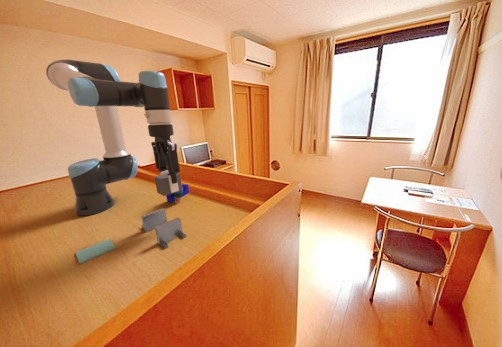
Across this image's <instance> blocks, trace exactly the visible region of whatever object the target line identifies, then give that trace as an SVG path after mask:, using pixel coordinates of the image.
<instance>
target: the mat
mask: <svg viewBox="0 0 502 347" xmlns="http://www.w3.org/2000/svg"><path fill="white" fill-rule="evenodd" d="M113 250H116V246H115V245H114V243H113V242H112V240H111V239H110V238H108V239H106V240H103V241H101V242H99V243H95V244H93V245H91V246H89V247H85V248H83V249H80V250H78V251H75V254H76V255H75V256H76V258H77V261H78V264H79V265H82V264H83V263H87V262H88V261H90V260H92V259H93V260H94V259H95V258H97V257H100V256H102V255H105V254H106V253H109V252H111V251H113Z"/></svg>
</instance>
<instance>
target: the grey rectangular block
mask: <svg viewBox="0 0 502 347" xmlns="http://www.w3.org/2000/svg"><path fill="white" fill-rule="evenodd" d="M168 174H169V173H168ZM176 175H177V181H178V188H179V191H180V190H182V178H181V176H182V175H181V174H180V173H177V174H176ZM154 181H155V187H156V192H157V194H159V195H161V196H164V197H165V196H166V195H168V194H171V191H170V185H169V179H168V175H167V174H164V175H161V174H159V175H157V176H154ZM176 192H177V191H176ZM173 193H174V192H173Z"/></svg>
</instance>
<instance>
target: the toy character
mask: <svg viewBox="0 0 502 347" xmlns="http://www.w3.org/2000/svg"><path fill="white" fill-rule="evenodd" d="M173 194H174V197H175V199H176V201H175V203H177V204H179V203H181V199H182V197H181V195H182V194H183V188H182V190H180V191H177V192H174V193H173Z"/></svg>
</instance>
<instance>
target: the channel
mask: <svg viewBox="0 0 502 347" xmlns="http://www.w3.org/2000/svg"><path fill="white" fill-rule="evenodd" d="M140 218H141V221H142V224H141V228H142V229H143V230H144V232H145V233H148V232H151V231H153V230H154V232H155V235H156V236H155V237H156V240H157V244H158V245H160V246H161V247H162V248H163V249H167V248H169V244H168V242H170V241H172V240H174V239H176V238H178V237H181V238H182V239H183V240H184V239H185V238H187V237H188V235H187V234H185V233H184V232H183V226H182V220H181V218H180V217H175V218H173V219H170V220H169V221H168V218H167V212H166V208H164V207H162V208H159V209H156V210H153V211H151V212H148V213H145V214H143V215H140Z"/></svg>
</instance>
